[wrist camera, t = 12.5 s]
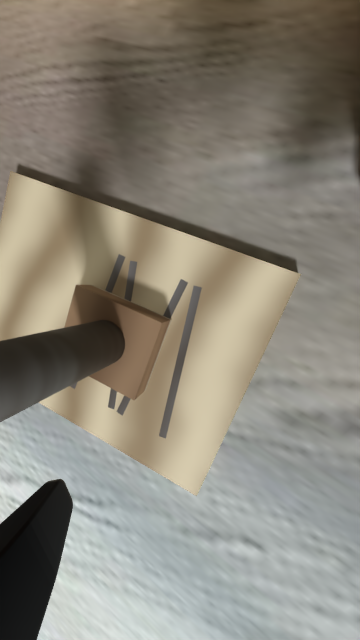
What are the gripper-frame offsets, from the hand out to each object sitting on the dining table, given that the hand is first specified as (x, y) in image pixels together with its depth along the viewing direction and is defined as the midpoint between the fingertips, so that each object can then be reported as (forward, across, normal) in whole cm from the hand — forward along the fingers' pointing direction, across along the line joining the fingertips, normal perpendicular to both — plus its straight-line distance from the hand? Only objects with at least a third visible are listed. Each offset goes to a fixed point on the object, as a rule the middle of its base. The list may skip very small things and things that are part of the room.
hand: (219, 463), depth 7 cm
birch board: (+15, +7, -1) cm, 17 cm away
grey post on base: (+13, +6, 0) cm, 15 cm away
